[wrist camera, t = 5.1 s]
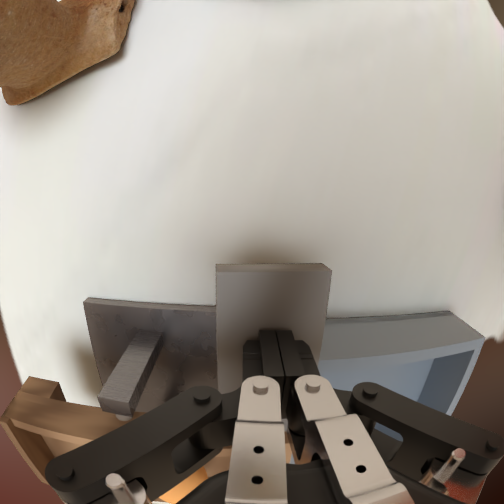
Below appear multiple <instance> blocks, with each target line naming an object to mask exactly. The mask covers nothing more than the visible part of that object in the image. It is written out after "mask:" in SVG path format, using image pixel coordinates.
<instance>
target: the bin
mask: <svg viewBox="0 0 504 504" xmlns="http://www.w3.org/2000/svg"><path fill="white" fill-rule="evenodd" d="M484 340H485V337H484V336H483V335H481V334H480V333H479V332H477V331H476V330H475V329H473V328H472V327H471V326H469V325H468V324H467V323H465V322H464V321H463V320H461V319H460V318H459V317H457V316H456V315H454V314H453V313H452V312H450V311H442V312H431V313H420V314H408V315H394V316H378V317H358V318H330V319H326V320H325V327H324V333H323V339H322V346H321V352H320V357H319V363H318V370H319V373H320V375H321V377H323V378H325V379H327V380H328V381H329V382H330V384H331V386H332V388H335V389H338V390H345V391H352V390H353V387H354V386H355V385H357V384H358V383H361V382H373V383H377V384H379V385H381V386H383V387H385V388H388V389H390V390H392V391H394V392H396V393H398V394H401V395H403V396H405V397H407V398H410V399H412V400H414V401H416V402H419V403H421V404H423V405H426V406H428V407H430V408H433V409H435V410H437V411H440V412H442V413H445V414H447V415H449V416H451V414H452V412H453V410H454V409H455V407H456V405H457V403H458V400H459V399H460V397H461V395H462V393H463V391H464V388H465V386H466V384H467V382H468V379H469V377H470V375H471V373H472V371H473V368H474V366H475V363H476V361H477V358H478V356H479V353H480V351H481V348H482V345H483V343H484ZM374 428H375V429H377V430H379V431H381V432H382V433H384V434H386V435H388V436H390V437H392V438H394V439H396V440H398V441H403V438H402V436H401V435H400V434H399V433H397V432H395V431H393V430H391V429H389V428H387V427H385V426H383V425H381V424H379V423H376V425H375V427H374ZM289 464H295V462H294V458H293V455H291V459H290V463H289Z"/></svg>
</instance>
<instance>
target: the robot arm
mask: <svg viewBox="0 0 504 504" xmlns="http://www.w3.org/2000/svg"><path fill="white" fill-rule="evenodd" d="M281 419H287V421H288V425H287V431H286V432H287V437H288V440H289V444H290V448H291V451H292V455H293V458H294V462H295V464H289V463H286V455H285V433H284V422H281ZM376 423H379V424H381V425H383V426H385V427H387V428H389V429H391V430H393V431H395V432H397V433H399V434H400V435H401V436H402V438H403V441H398V440H396V439H394V438H392V437H390V436H388V435H386V434H384V433H382V432H381V431H379V430H377V429H375V428H374V427H375V425H376ZM231 445H232V452H231V460H230V467H229V470H227V471H224V472H221V473H218V474H216V475H214V476H212V477H210V478H208V479H206V480H205V481H203V482H202V483H201V484H200V485H198V486H197V487H196V488H195V489H194V490H192V491H191V492H190V493H189V494H187V495H186V496H185V497H184V498H182V499H181V500H180V501H178V502H177V503H176V504H476V501H477V498H478V497H479V494H480V492H481V489H482V487H483V484H484V482H485V479H486V476H487V475H488V474H489V473H490V471H491V470H492V469H493V468H494V466H496V464H497V463H498V462H499V460H500V459H501V458H502V457H503V455H504V439H503V438H502V437H501V436H500V435H498V434H496V433H494V432H491V431H488V430H485V429H483V428H480V427H477V426H475V425H472V424H469V423H467V422H464V421H462V420H459V419H457V418H454V417H452V416H449V415H447V414H445V413H442V412H440V411H437V410H435V409H433V408H430V407H428V406H426V405H423V404H421V403H419V402H416V401H414V400H412V399H410V398H407V397H405V396H403V395H401V394H398V393H396V392H394V391H392V390H390V389H388V388H385V387H383V386H381V385H379V384H377V383H373V382H361V383H358V384H357V385H355V386H354V387H353V390H352V391H345V390H338V389H335V388H332V386H331V384H330V382H329V381H328V380H327V379H325V378H323V377H321V375H320V373H319V370H318V367H317V365H316V362H315V359H314V357H313V354H312V352H311V349H310V346H309V345H308V344H307V343H305V342H304V341H303V340H295V339H294V336H293V333H292V330H259V333H258V340H247V341H246V343H245V344H244V345H243V357H242V385H241V386H240V387H239V388H238V389H237V390H235V391H233V392H229V393H225V394H221V393H220V392H219V391H218V390H217V389H215V388H213V387H210V386H194V387H191V388H189V389H187V390H185V391H184V392H182V393H180V394H179V395H177V396H175V397H174V398H172V399H170V400H168V401H167V402H165V403H163V404H161V405H160V406H158V407H156V408H154V409H153V410H151V411H149V412H147V413H145V414H143V415H142V416H140V417H138V418H136V419H134V420H132V421H130V422H129V423H127V424H125V425H123V426H121V427H119V428H117V429H115V430H113V431H111V432H109V433H107V434H105V435H103V436H101V437H99V438H97V439H95V440H93V441H91V442H89V443H86V444H84V445H82V446H80V447H78V448H76V449H73V450H71V451H69V452H67V453H64V454H62V455H60V456H58V457H55V458H53V459H52V460H51V461H50V462H49V463H48V464H47V465H46V468H45V478H46V480H47V482H48V483H49V485H50V486H51V487H52V488H53V489H54V490H55V491H56V493H57V494H58V496H59V497H60V499H61V500H62V501H63V502H64V503H65V504H152V503H151V502H152V501H154V500H156V499H157V498H159V497H160V496H162V495H163V494H165V493H166V492H168V491H169V490H171V489H172V488H174V487H175V486H176V485H178V484H179V483H181V482H182V481H183V480H185V479H186V478H188V477H189V476H190V475H192V474H193V473H194V472H196V471H197V470H198V469H200V468H201V467H202V466H204V465H205V464H206V463H208V462H209V461H210V460H211V459H213V458H214V457H215V456H216V455H218V454H219V453H220V452H221V451H222V449H223V447H226V446H231Z"/></svg>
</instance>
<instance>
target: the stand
mask: <svg viewBox="0 0 504 504" xmlns="http://www.w3.org/2000/svg"><path fill="white" fill-rule="evenodd" d="M83 304H84V310H85V315H86V320H87V325H88V330H89V335H90V339H91V344H92V348H93V352H94V356H95V360H96V364H97V368H98V371H99V375H100V378H101V382H102V385H103V388H102V390H101V391H100V393H99V395H98V396H97V398H98V400H99V403H100V406H101V409H102V411H104V412H108V413H113V414H118V415H123V416H128V417H133V415H134V412H149V411H151V410H153V409H154V408H156V407H158V406H160V405H161V404H163V403H165V402H167V401H168V400H170V399H172V398H174V397H175V396H177V395H179V394H180V393H182V392H184V391H185V390H187V389H189V388H191V387H194V386H210V387H213V388H215V389H217V390H218V374H217V336H216V306H195V305H176V304H159V303H144V302H131V301H119V300H108V299H97V298H87V299H86V300H85V301H84V302H83Z"/></svg>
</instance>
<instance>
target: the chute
mask: <svg viewBox="0 0 504 504" xmlns="http://www.w3.org/2000/svg"><path fill="white" fill-rule="evenodd" d="M331 274H332V270H330V269H329V268H328V267H326V266H325V265H324V264H322V263H309V264H216V336H217V374H218V391H219V392H220V393H221V394H225V393H229V392H233V391H235V390H237V389H238V388H239V387H240V386H241V385H242V357H243V345H244V344H245V343H246V341H247V340H258V333H259V330H292V333H293V336H294V339H295V340H303V341H304V342H305V343H307V344H308V345H309V346H310V349H311V352H312V354H313V357H314V359H315V362H316V365H317V367H318V363H319V357H320V352H321V346H322V339H323V333H324V327H325V320H326V313H327V306H328V298H329V291H330V282H331ZM145 413H147V412H134V415H133V417H128V416H123V415H118V414H113V413H108V412H104V411H102V409H101V408H100V407H93V406H86V405H80V404H75V403H69V402H66V399H65V397H64V394H63V392H62V389H61V387H60V384H59V382H55V381H50V380H45V379H40V378H35V377H31V376H29V377H28V379H27V380H26V381H25V383H24V384H23V386H22V387H21V388H20V390H19V391H18V393H17V394H16V395H15V397H14V398H13V400H12V401H11V403H10V404H9V406H8V407H7V409H6V410H5V412H4V413H3V415H2V416H1V418H0V423H1V425H2V427H3V428H4V430H5V432H6V433H7V435H8V436H9V438H10V439H11V441H12V443H13V444H14V445H15V447H16V448H17V450H18V451H19V453H20V454H21V456H22V457H23V458H24V460H25V461H26V462H27V464H28V465H29V466H30V468H31V469H32V470H33V471H34V473H35V474H36V475H37V477H38V478H39V479H40V480H41V481H42V483H46V484H48V485H49V483H48V482H47V480H46V478H45V468H46V465H47V464H48V463H49V462H50V461H51V460H52V459H53V458H55V457H58V456H60V455H62V454H64V453H67V452H69V451H71V450H73V449H76V448H78V447H80V446H82V445H84V444H86V443H89V442H91V441H93V440H95V439H97V438H99V437H101V436H103V435H105V434H107V433H109V432H111V431H113V430H115V429H117V428H119V427H121V426H123V425H125V424H127V423H129V422H130V421H132V420H134V419H136V418H138V417H140V416H142V415H143V414H145ZM281 422H284V433H285V455H286V463H290V459H291V455H292V451H291V448H290V444H289V440H288V437H287V432H286V431H287V425H288V421H287V419H281ZM231 452H232V445H231V446H226V447H223V449H222V451H221V452H220V453H219V454H218V455H216V456H215V457H214V458H213V459H211V460H210V461H209V462H208V463H206V464H205V465H204V468H205V470H206V472H207V476H208V478H210V477H212V476H214V475H216V474H218V473H221V472H224V471H227V470H229V467H230V460H231ZM154 501H159V502H165V501H163V500H162V499H160V498H157V499H156V500H154Z"/></svg>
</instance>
